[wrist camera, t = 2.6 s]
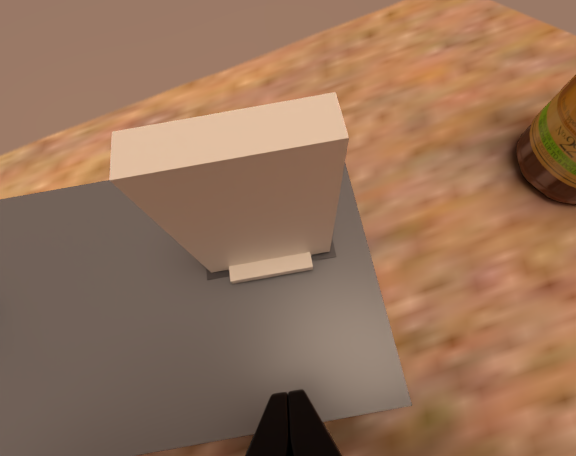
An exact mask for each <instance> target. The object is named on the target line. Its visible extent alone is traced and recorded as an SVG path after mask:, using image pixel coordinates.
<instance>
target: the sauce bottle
mask: <svg viewBox="0 0 576 456" xmlns="http://www.w3.org/2000/svg"><path fill="white" fill-rule="evenodd" d="M516 151H517V158H518V162H519V165H520V170H521V172H522V174H523V176H524V177H525V178H526V180H527V181H528V182H530V183H531V184H532V185H533V186H534V187H535V188H537V189H538V190H539V191H540V192H542V193H544V194H545V195H546V196H547V197H548V198H551V199H553V200H555V201H559V202H564V203H570V204H576V75H575V76H574V77H573V78H572V79H571V80H570V81H569V82H568V83H567V84H566V85H565V86H564V87H563V88H562V89H561V91H560V92H559V93H558V94H557V95H556V96H555V97H554V98H553V99H552V100H551V101H550V102H549V103H548V104H547V105H546V106H545V107H544V108H543V109H542V110H541V111H540V113H539V114H538V115H537V116H536V117H535V119H534V120H533V122H532V125H530V126H529V127H528V128H527V129H526V130H525V132H524V133H523V134H522V135H521V138H520V140H519V142H518V144H517V147H516Z"/></svg>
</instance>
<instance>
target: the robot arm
mask: <svg viewBox="0 0 576 456" xmlns="http://www.w3.org/2000/svg"><path fill="white" fill-rule="evenodd" d="M245 456H342V455H341V453H340V451H339V450H338V448H337V446H336V444H335V443H334V441H333V439H332V437H331V436H330V434H329V432H328V430H327V429H326V427H325V425H324V424H323V422H322V420H321V418H320V417H319V415H318V413H317V411H316V410H315V408H314V406H313V404H312V403H311V401H310V399H309V397H308V396H307V394H306V392H305V391H304V390H303V389H299V390H292V391H289V392H288V393H287V392H279V393H273V394H272V395H271V396H270V398H269V400H268V403H267V405H266V408H265V410H264V412H263V415H262V417H261V419H260V422H259V424H258V427H257V429H256V431H255V434H254V436H253V439H252V441H251V443H250V446H249V448H248V450H247V453H246V455H245Z"/></svg>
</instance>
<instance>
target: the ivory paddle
mask: <svg viewBox="0 0 576 456" xmlns="http://www.w3.org/2000/svg"><path fill="white" fill-rule="evenodd" d="M348 140H349V136H348V133H347V130H346V126H345V123H344V119H343V116H342V112H341V109H340V106H339V102H338V99H337V95H336V92H334V93H328V94H323V95H317V96H312V97H306V98H300V99H295V100H289V101H283V102H278V103H272V104H266V105H261V106H255V107H250V108H244V109H238V110H233V111H227V112H221V113H216V114H210V115H204V116H199V117H193V118H188V119H182V120H176V121H171V122H165V123H159V124H154V125H148V126H142V127H137V128H131V129H126V130H120V131H114V132H112V141H111V160H110V179H109V180H110V181H111V182H112V183H113V184H114V185H115V186H116V187H117V188H118V189H120V190H121V191H122V192H123V193H124V194H125V195H126V196H127V197H128V198H129V199H131V200H132V201H133V202H134V203H135V204H136V205H137V206H138V207H139V208H141V209H142V210H143V211H144V212H145V213H146V214H147V215H148V216H149V217H150V218H152V219H153V220H154V221H155V222H156V223H157V224H158V225H159V226H160V227H161V228H163V229H164V230H165V231H166V232H167V233H168V234H169V235H170V236H171V237H173V238H174V239H175V240H176V241H177V242H178V243H179V244H180V245H181V246H182V247H184V248H185V249H186V250H187V251H188V252H189V253H190V254H191V255H192V256H194V257H195V258H196V259H197V260H198V261H199V262H200V263H201V264H202V265H203V266H205V267H206V268H207V269H208V270H209V271H210V272H211V273H213V272H218V271H224V270H229V273H230V282H231V283H232V284H234V283H240V282H246V281H251V280H257V279H262V278H268V277H274V276H279V275H285V274H290V273H296V272H302V271H307V270H313V264H312V259H311V255H313V254H319V253H324V252H330V247H331V241H332V235H333V229H334V223H335V218H336V212H337V206H338V200H339V194H340V188H341V182H342V176H343V170H344V164H345V158H346V152H347V146H348Z"/></svg>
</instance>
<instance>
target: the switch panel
mask: <svg viewBox="0 0 576 456" xmlns="http://www.w3.org/2000/svg"><path fill="white" fill-rule="evenodd" d="M311 259H312V264H313V270H307V271H302V272H296V273H290V274H285V275H279V276H274V277H268V278H262V279H257V280H251V281H246V282H240V283H234V284H232V283H231V282H230V273H229V270H224V271H218V272H213V273H211V272H210V271H209V270H208V269H207V268H206V267H205V266H203V265H202V264H201V263H200V262H199V261H198V260H197V259H196V258H195V257H194V256H192V255H191V254H190V253H189V252H188V251H187V250H186V249H185V248H184V247H182V246H181V245H180V244H179V243H178V242H177V241H176V240H175V239H174V238H173V237H171V236H170V235H169V234H168V233H167V232H166V231H165V230H164V229H163V228H161V227H160V226H159V225H158V224H157V223H156V222H155V221H154V220H153V219H152V218H150V217H149V216H148V215H147V214H146V213H145V212H144V211H143V210H142V209H141V208H139V207H138V206H137V205H136V204H135V203H134V202H133V201H132V200H131V199H129V198H128V197H127V196H126V195H125V194H124V193H123V192H122V191H121V190H120V189H118V188H117V187H116V186H115V185H114V184H113V183H112V182H111V181H110V180H108V181H102V182H96V183H91V184H85V185H80V186H74V187H68V188H63V189H57V190H51V191H46V192H40V193H35V194H29V195H23V196H18V197H12V198H6V199H1V200H0V456H136V455H142V454H147V453H153V452H159V451H164V450H170V449H175V448H181V447H186V446H192V445H197V444H203V443H208V442H214V441H219V440H225V439H231V438H236V437H242V436H247V435H253V434H255V431H256V429H257V427H258V424H259V422H260V419H261V417H262V415H263V412H264V410H265V408H266V405H267V403H268V400H269V398H270V396H271V395H272V394H273V393H279V392H287V393H288V392H289V391H292V390H299V389H303V390H304V391H305V392H306V394H307V396H308V397H309V399H310V401H311V403H312V404H313V406H314V408H315V410H316V411H317V413H318V415H319V417H320V418H321V420H322V422H325V421H330V420H336V419H341V418H347V417H352V416H358V415H364V414H369V413H375V412H380V411H386V410H391V409H397V408H402V407H408V406H412V403H411V400H410V396H409V392H408V389H407V385H406V381H405V378H404V374H403V371H402V367H401V363H400V360H399V356H398V352H397V349H396V345H395V342H394V338H393V334H392V331H391V327H390V324H389V320H388V316H387V313H386V309H385V305H384V302H383V298H382V295H381V291H380V287H379V284H378V280H377V276H376V273H375V269H374V266H373V262H372V258H371V255H370V251H369V247H368V244H367V240H366V237H365V233H364V229H363V226H362V222H361V219H360V215H359V211H358V208H357V204H356V200H355V197H354V193H353V190H352V186H351V182H350V179H349V175H348V171H347V168H346V164H344V170H343V176H342V182H341V188H340V194H339V200H338V206H337V212H336V218H335V223H334V229H333V235H332V241H331V247H330V252H324V253H319V254H313V255H311Z"/></svg>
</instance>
